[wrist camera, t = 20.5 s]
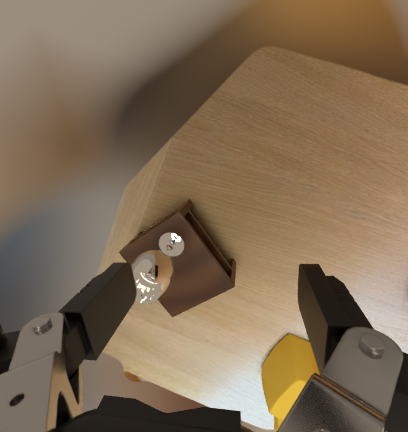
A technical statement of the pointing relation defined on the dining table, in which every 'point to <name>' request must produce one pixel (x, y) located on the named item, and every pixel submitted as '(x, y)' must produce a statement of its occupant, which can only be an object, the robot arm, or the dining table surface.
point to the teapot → (287, 375)
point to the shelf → (186, 261)
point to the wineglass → (156, 268)
